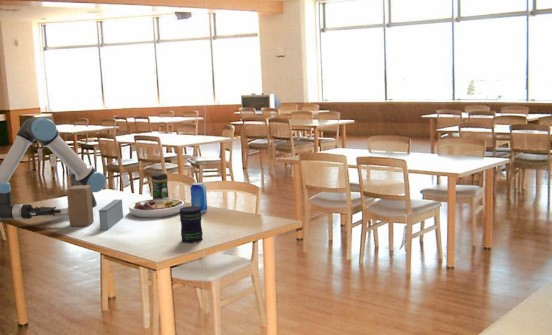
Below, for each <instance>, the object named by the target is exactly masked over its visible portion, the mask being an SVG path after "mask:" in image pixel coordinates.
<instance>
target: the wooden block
mask: <svg viewBox="0 0 552 335" xmlns="http://www.w3.org/2000/svg"><path fill="white" fill-rule="evenodd" d="M66 196H67V205H68V207H67V208H68V218H69V220H68V221H69V227H71V228H72V227H74V228H75V227H89V226H90V225H92V224H93V223H94V221H95V220H94V207H93V206H92V194H91V186H90V185H79V186H72V187H71V186H70V187H68V188H67V189H66Z"/></svg>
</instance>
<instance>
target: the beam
mask: <svg viewBox="0 0 552 335" xmlns="http://www.w3.org/2000/svg"><path fill="white" fill-rule="evenodd" d="M98 216H99V217H98V218H99V219H98V220H99V230H100V231H109V230H110V229H112V228H113V227H114V226H115V225H117V224H118V223H119V222H120V221H121V220H122V219H124V210H123V199H113V200H112V201H111V202H109V203H107V204H106V205H104V206H103V207H101V208H100V209H98Z"/></svg>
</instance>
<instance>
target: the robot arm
mask: <svg viewBox="0 0 552 335" xmlns="http://www.w3.org/2000/svg"><path fill="white" fill-rule="evenodd" d="M15 138H16V139H14V141H13V143H12V145H11V146H10V149H9V151H8V152H7V154H6V156H5V158H4V159H3V160H2V163H1V164H0V220H4V221H5V220H17V221H20V220H30V219H32V218H34V217H39V216H40V217H41V216H55V215H63V214H69V210H68V207H57V206H36V207H33V205H32V204H13V199H12V187H11V183H10V182H9V181H10V179H11V177H12V176H13V174H14V173H15V171H16V169H17V168H18V165H19V163H20V162H21V160H22V159H23V157H24V156H25V154H26V152H27V150H28V149H29V146H31V145H33V144H34V142H35V141H37V142H38V143H39V144H40V146H42V147H43V148H44V147H46V148H48V149H49V150H50V151H51V152H52V153H53V154H54V155H55V156H56V157H57V158H58V159H59V160H60V161H61V163H63V165H65V166H66V167H67V169H69V171H70V173H69V174H70V175H69V176H70V184H71V185H70V187H72V186H79V185H90V186H91V194H92V206H93V208H94V207H96V206H97V200H96V197H95V195H94V193H99V192H100V191H102V190H103V189H104V188H105V186H106V176H105V175H104V174H103V173H101V172H100V171H97V170H96V168H94V167H93V165H91V164H87V163H86V162H85V161H84V160H83V159H82V158H81V157H80V156H79V155H78V154H77V153H76V151H75V150H74V149H72V148H71V147H70V145H68V143H67V142H66V141H65V140H63V138H62V137H61V136H60V131H59V130H58V129H57V126H56V124H55V123H54V121H53V120H51V119H49V118H46V117H29V118H28V119H26V120H25V121H24V122H23V123H22V124H21V126H20V128H19V129H18V131H17V133H16V135H15Z"/></svg>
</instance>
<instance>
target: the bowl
mask: <svg viewBox="0 0 552 335" xmlns="http://www.w3.org/2000/svg"><path fill="white" fill-rule="evenodd" d="M184 204H185V203H184V201H183V200H181V199H174V198H169V199H153V198H152V199H146V200H141V201H140V200H139V201H136V202H134V203H131V204H129V205H128V210H129V212H130V214H131V215H133V216H134V217H137V218H138V217H139V218H145V219H146V218H147V219H149V218H151V219H154V218H164V217H170V216H174V215H176V214H180V208H183V207H185V205H184Z"/></svg>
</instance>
